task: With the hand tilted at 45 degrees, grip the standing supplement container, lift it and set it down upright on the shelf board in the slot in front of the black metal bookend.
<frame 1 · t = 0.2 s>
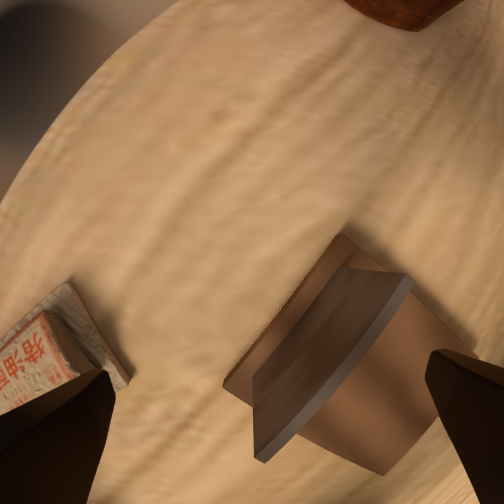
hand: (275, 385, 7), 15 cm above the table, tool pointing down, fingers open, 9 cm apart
shelf board: (366, 372, 23), on the table
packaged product: (44, 371, 23), on the table
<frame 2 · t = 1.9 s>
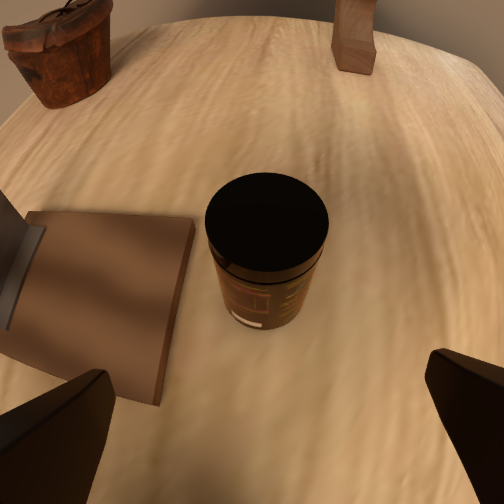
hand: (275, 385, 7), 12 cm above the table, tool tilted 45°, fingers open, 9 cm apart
supplement container: (263, 295, 22), on the table
shelf board: (75, 293, 22), on the table
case: (80, 88, 42), on the table
decorative block: (349, 61, 43), on the table
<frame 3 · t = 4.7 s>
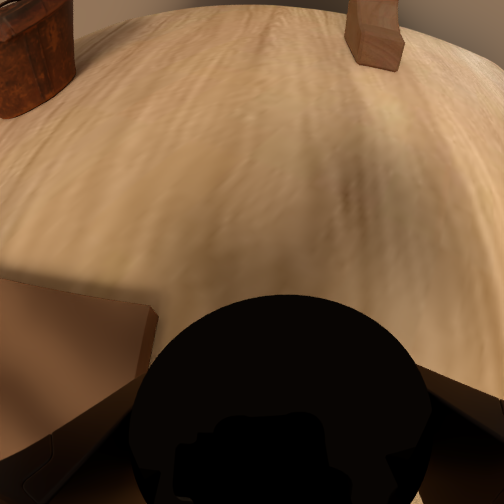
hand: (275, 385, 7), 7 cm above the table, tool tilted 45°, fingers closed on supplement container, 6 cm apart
supplement container: (267, 430, 12), on the table, touching gripper
shelf board: (5, 397, 12), on the table
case: (40, 92, 32), on the table
decorative block: (368, 54, 34), on the table
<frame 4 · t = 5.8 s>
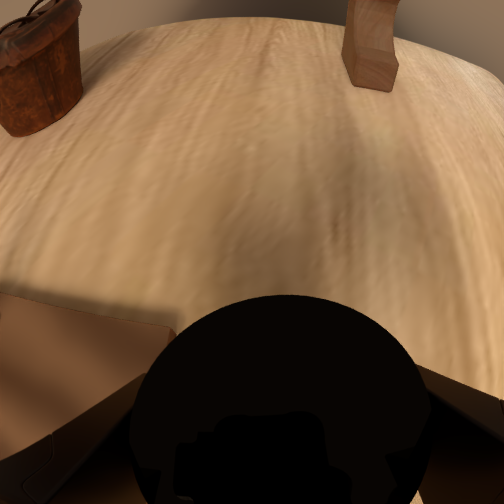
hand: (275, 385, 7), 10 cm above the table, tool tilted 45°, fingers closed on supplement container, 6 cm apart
supplement container: (267, 430, 13), point 4 cm above the table, touching gripper
shelf board: (41, 404, 15), on the table
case: (48, 109, 35), on the table
decorative block: (364, 73, 37), on the table
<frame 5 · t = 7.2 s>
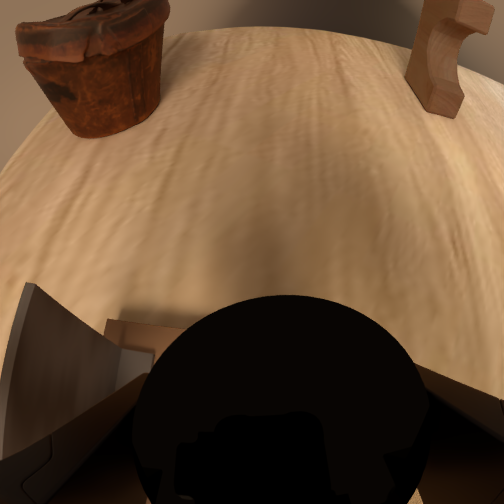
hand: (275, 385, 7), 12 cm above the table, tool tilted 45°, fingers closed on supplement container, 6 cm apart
supplement container: (268, 429, 13), point 6 cm above the table, touching gripper
shelf board: (227, 441, 17), on the table
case: (118, 110, 36), on the table
decorative block: (428, 98, 39), on the table
when the fingers open (9 cm above the table, at t = 8.5 s): supplement container drops 1 cm, resting on shelf board.
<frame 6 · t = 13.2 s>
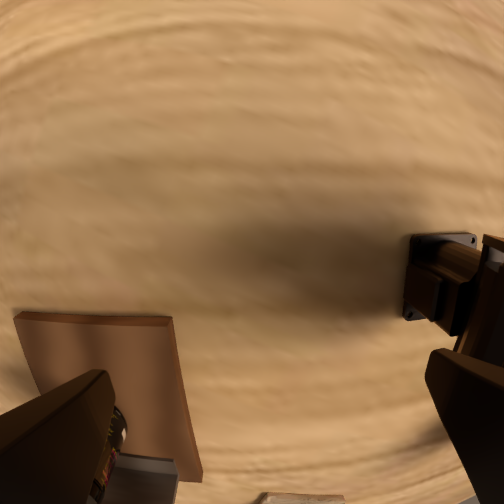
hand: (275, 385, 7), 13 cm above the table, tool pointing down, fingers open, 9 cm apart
supplement container: (99, 413, 22), point 1 cm above the table, touching shelf board
shelf board: (112, 406, 23), on the table
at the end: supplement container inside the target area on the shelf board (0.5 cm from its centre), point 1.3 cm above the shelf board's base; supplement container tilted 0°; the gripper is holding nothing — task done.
